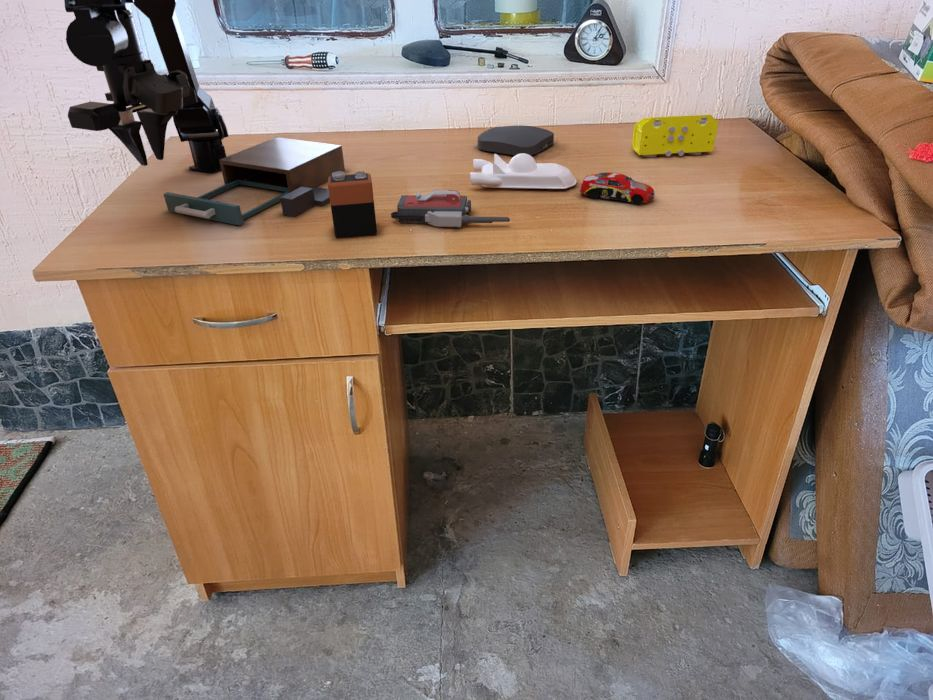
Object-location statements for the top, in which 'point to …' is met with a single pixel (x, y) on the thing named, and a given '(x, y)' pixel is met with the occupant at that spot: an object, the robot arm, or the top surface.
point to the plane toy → (521, 174)
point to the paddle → (303, 200)
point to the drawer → (219, 204)
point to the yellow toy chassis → (674, 135)
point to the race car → (616, 188)
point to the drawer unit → (286, 162)
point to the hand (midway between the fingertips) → (152, 162)
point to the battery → (352, 204)
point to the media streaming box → (515, 139)
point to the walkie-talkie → (439, 209)
